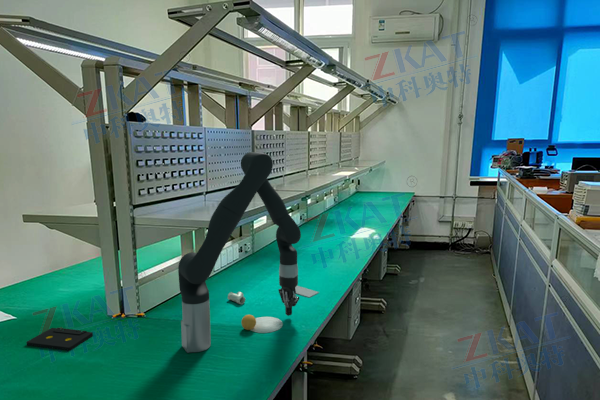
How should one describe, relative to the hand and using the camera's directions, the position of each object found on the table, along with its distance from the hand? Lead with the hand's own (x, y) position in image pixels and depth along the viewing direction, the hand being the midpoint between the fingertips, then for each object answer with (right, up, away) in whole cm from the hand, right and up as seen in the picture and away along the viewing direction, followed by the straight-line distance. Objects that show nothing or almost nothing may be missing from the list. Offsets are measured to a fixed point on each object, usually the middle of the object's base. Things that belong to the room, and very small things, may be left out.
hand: (288, 314), depth 167 cm
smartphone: (+6, +2, +30) cm, 30 cm away
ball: (-15, 0, -10) cm, 18 cm away
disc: (-9, -2, -6) cm, 11 cm away
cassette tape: (-82, -5, -18) cm, 84 cm away
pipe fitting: (-23, +1, +19) cm, 30 cm away
